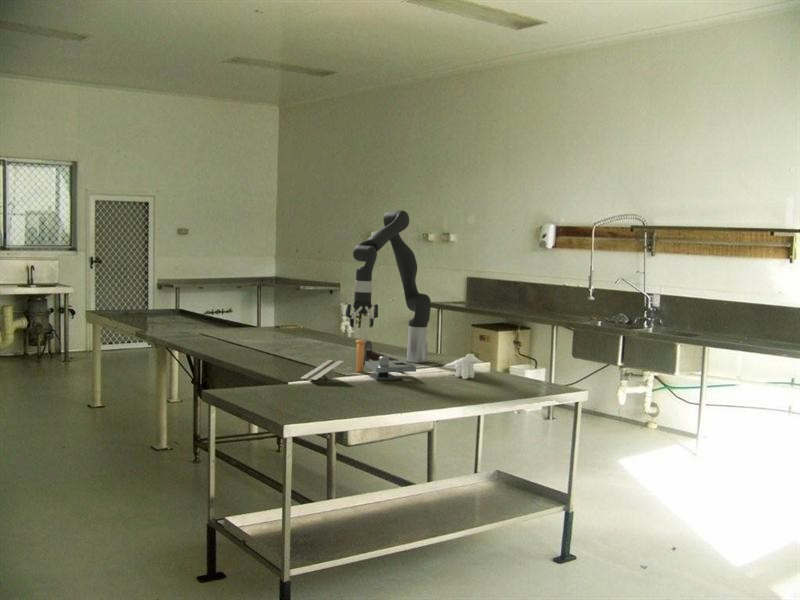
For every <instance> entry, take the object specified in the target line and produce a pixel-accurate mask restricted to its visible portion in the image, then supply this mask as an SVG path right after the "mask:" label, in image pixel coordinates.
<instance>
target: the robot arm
mask: <svg viewBox="0 0 800 600" xmlns="http://www.w3.org/2000/svg"><path fill="white" fill-rule="evenodd" d="M382 217H383V218H382V220H383V224H384V225H383V228H380V229H378V230H376V231H375V232H374V233H372V235H370V237H369V238H368V239H366V240H364V241H362V242H360V243H358V244H357V245H356V246H355V247H354V248H353V250H352V257H353V258H354V260H355V261H356V262H362V263H363V262H365V264H364V266H359V267H356V270H355V282H354V297H353V304H352V303H347V304H346V311H345V317H347V318H349V326H350V327H351V328H354V327H355V319H354V318H355V317H356V316H357V315H358V314H361V315H362V314H365V315H366V314H367V315H368V317H369V319H368V320H369V321H368V322H369V324H368V327H369V328H373V327H374V321H375V319H376V318H378V317H379V305H378V304H376V303H372V293H373V292H372V291H373V282H372V281H373V279H372V277H373V271H374V268H375V263H376V260H377V256H378V252H379V251H380V250H381V249H382V248H383V247H384V246H385V245H386V244H387V243H388V242H390V245H391V247H392V250H393V255H394V257H395V262H396V266H397V268H398V269H397V270H398V272H399V275H400V280H401V284H402V288H403V294H404V300H405V303H406V307H407V308H408V310H409V311H412V312H414V316H413V318H411V319H409V320H408V326H407V327H408V329H407V345H406V346H407V347H406V362H407V363H417V364H418V363H423V364H424V363H427V362H428V352H429V350H428V349H429V342H427V340H428V339H427V337H428V323H429V322H430V318H431V307H432V303H431V298H430V296H429V295H427V294H425V293H419V290H418V287H417V284H416V278H417V274H418V263H417V260H416V255H415V253H414V252H413V250H412V249H411V248H410V246H409V245H408V244H407V243H405V241H404V240H403V238H402V237H401V234H400V233H401V232H402V231H405V230H407V228H408V227H409V225H410V216H409V214H408V212H407V211H405V210H400V209H399V210H392V211H391V210H390V211H387V212H385V213H384V215H383V216H382ZM352 309H353V311H352V312H351V310H352ZM371 309H373V313H372V312H371Z"/></svg>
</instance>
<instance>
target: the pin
mask: <svg viewBox="0 0 800 600" xmlns="http://www.w3.org/2000/svg"><path fill="white" fill-rule="evenodd" d="M365 343H366V340H363V339H356V340H355V344H356V349H357V353H356V352H355V354H356V358H355V372H356V373H364V367H365V363H364V346H365Z"/></svg>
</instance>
